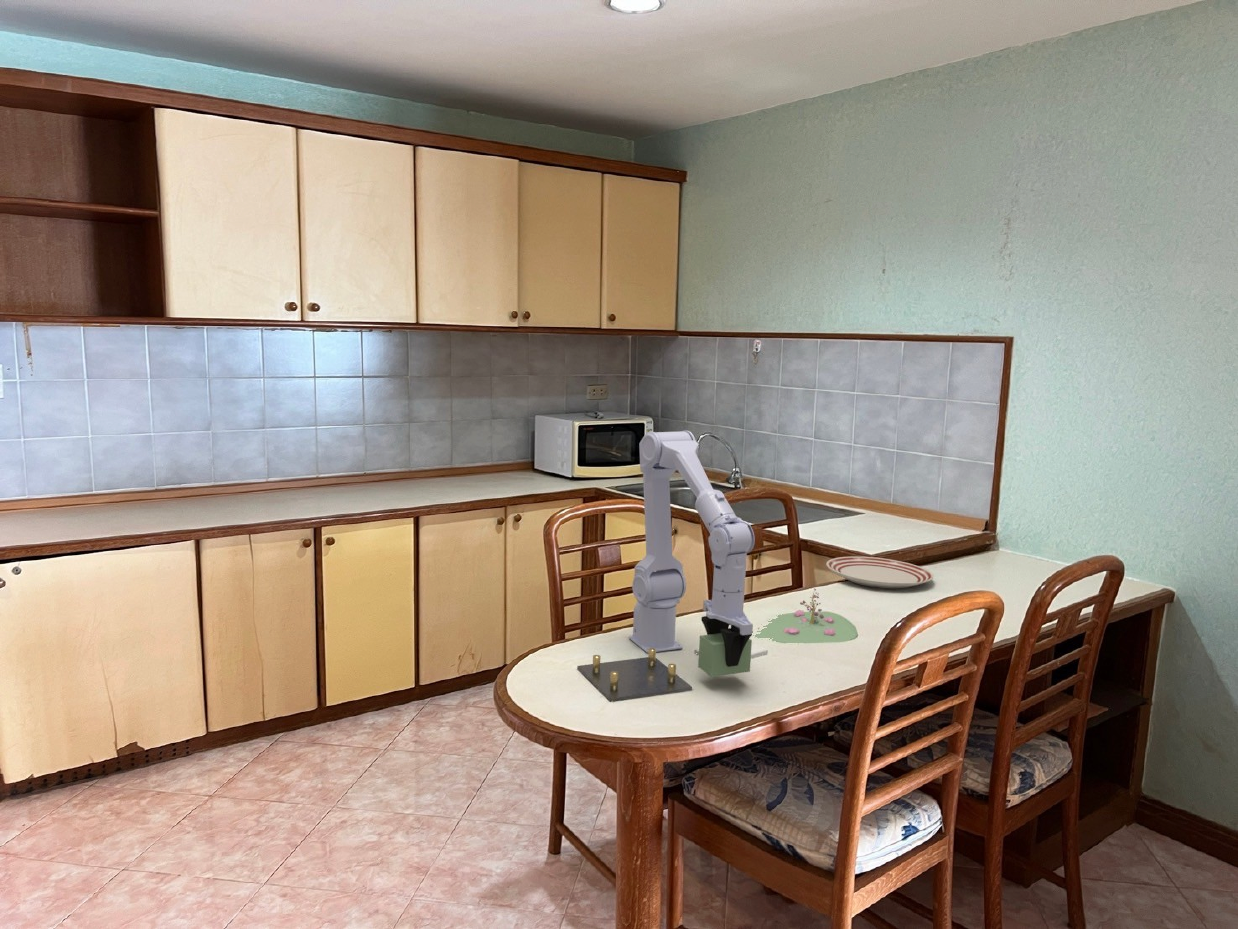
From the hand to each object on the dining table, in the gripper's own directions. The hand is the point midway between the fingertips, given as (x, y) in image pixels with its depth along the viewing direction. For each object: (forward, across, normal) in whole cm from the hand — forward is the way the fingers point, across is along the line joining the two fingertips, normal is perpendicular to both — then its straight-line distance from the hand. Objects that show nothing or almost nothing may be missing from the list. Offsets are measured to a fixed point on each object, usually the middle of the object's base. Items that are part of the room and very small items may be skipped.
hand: (724, 660), depth 168 cm
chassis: (+4, -7, -15) cm, 17 cm away
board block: (+2, 0, 0) cm, 2 cm away
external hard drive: (+5, -13, +9) cm, 17 cm away
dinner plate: (+5, -50, +76) cm, 91 cm away
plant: (+5, -21, +32) cm, 39 cm away
